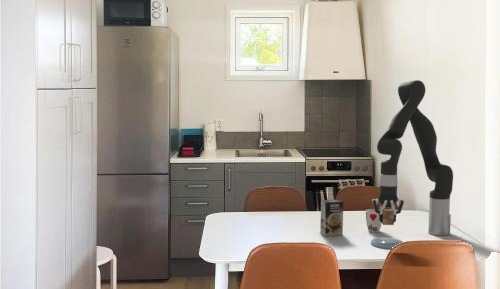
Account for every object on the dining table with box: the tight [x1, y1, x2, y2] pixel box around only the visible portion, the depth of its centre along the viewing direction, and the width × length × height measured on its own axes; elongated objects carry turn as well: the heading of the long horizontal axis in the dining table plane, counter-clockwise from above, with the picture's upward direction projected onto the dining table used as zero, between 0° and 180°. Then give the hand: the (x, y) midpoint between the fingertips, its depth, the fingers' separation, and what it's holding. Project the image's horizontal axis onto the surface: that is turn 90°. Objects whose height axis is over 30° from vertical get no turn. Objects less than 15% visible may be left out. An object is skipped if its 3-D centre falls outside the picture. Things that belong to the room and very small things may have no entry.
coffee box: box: [319, 199, 344, 237], centre depth 265 cm, size 9×6×16 cm
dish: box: [370, 237, 404, 250], centre depth 248 cm, size 14×14×1 cm
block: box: [381, 208, 395, 226], centre depth 247 cm, size 4×4×6 cm
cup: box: [365, 208, 382, 233], centre depth 272 cm, size 8×8×10 cm
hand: (387, 222), depth 247 cm, fingers closed on block, 4 cm apart
